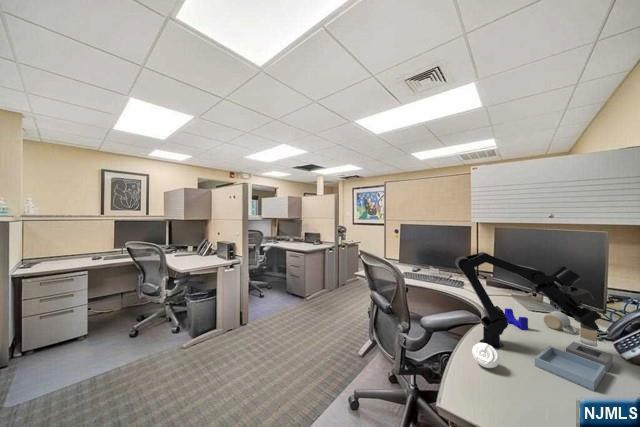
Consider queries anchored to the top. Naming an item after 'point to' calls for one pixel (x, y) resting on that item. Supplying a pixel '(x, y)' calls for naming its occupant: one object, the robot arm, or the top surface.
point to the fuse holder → (591, 354)
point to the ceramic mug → (558, 321)
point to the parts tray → (571, 367)
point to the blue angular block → (521, 322)
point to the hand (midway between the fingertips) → (593, 326)
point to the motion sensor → (485, 355)
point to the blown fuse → (588, 335)
